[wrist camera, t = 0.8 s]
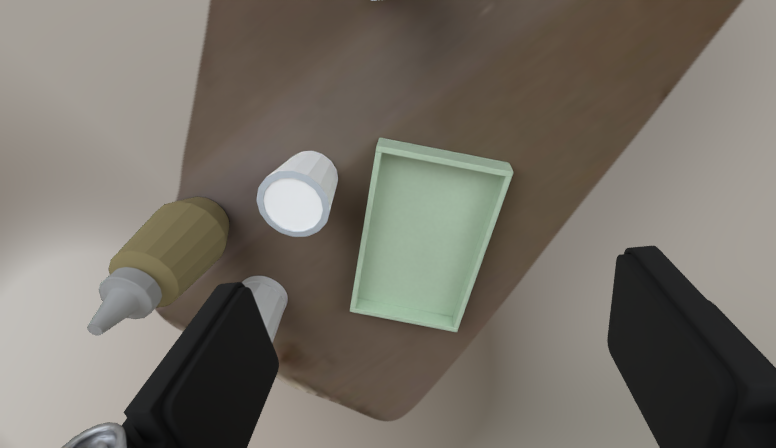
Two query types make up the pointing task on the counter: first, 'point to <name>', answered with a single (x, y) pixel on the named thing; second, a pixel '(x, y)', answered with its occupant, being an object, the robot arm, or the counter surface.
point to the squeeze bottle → (161, 260)
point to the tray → (425, 232)
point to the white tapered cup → (299, 194)
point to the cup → (268, 301)
